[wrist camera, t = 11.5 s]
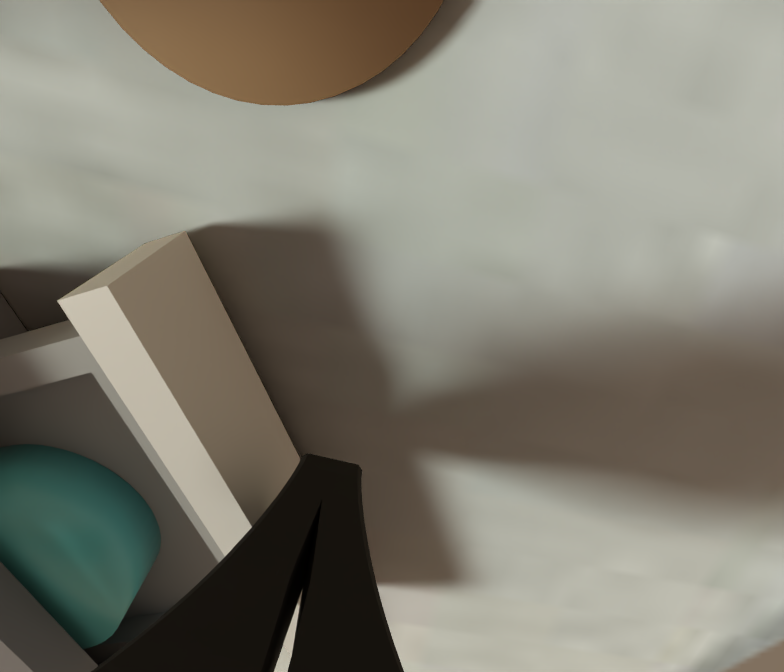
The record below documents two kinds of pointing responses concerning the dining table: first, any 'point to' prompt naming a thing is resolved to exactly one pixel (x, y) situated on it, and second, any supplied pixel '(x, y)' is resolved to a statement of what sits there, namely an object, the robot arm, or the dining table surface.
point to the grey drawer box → (31, 602)
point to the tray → (155, 413)
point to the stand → (275, 42)
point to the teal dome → (74, 537)
